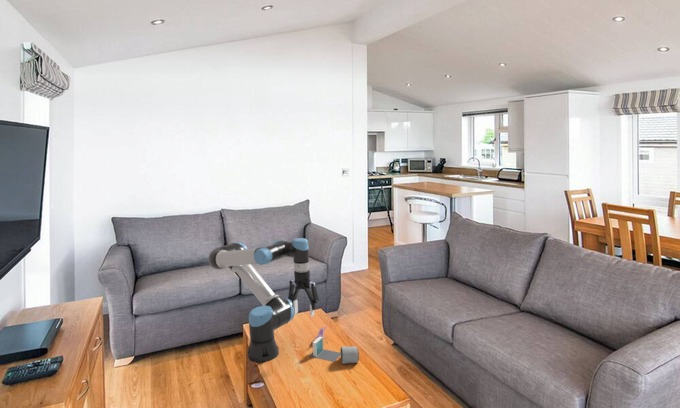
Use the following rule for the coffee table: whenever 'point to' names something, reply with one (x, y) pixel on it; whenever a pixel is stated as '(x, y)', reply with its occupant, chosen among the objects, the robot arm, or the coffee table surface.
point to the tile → (317, 346)
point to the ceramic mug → (349, 355)
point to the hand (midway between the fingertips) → (304, 314)
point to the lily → (321, 333)
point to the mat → (327, 355)
